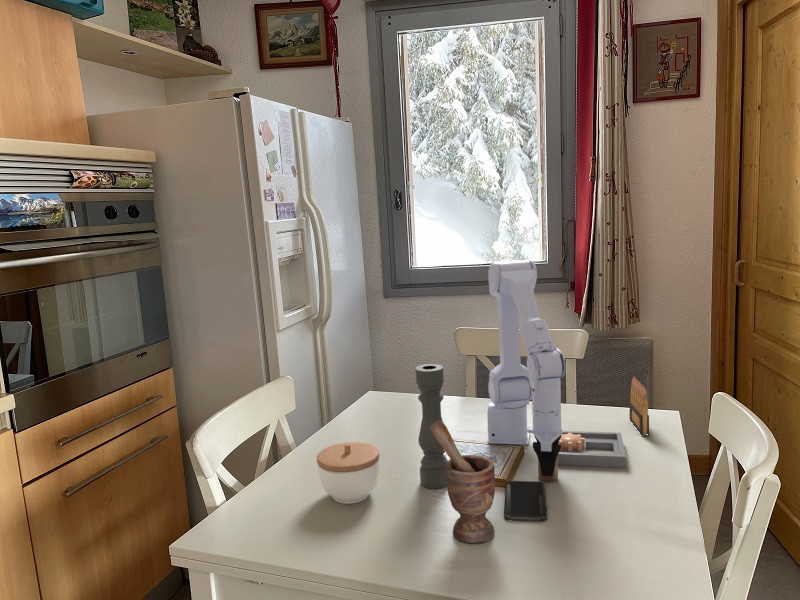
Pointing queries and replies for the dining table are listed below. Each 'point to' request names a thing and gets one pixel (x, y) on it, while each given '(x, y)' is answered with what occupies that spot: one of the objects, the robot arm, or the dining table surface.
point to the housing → (580, 440)
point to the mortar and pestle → (468, 488)
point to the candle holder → (430, 397)
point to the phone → (525, 501)
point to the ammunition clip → (639, 407)
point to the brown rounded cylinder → (548, 478)
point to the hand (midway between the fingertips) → (547, 470)
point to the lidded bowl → (349, 471)
